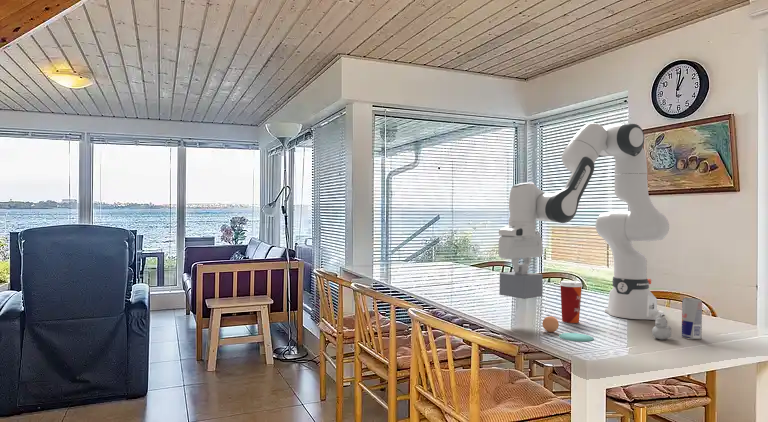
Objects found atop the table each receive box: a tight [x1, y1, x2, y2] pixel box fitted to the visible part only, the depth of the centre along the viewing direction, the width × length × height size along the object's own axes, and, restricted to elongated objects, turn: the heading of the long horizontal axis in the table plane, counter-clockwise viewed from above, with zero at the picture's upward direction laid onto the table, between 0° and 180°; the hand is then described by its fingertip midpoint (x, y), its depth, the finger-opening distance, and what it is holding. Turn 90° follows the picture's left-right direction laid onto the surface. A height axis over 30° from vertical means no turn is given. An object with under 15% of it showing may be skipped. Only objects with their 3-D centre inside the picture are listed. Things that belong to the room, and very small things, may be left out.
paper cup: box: [559, 280, 583, 324], centre depth 187 cm, size 8×8×14 cm
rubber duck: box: [651, 314, 672, 341], centre depth 163 cm, size 5×7×8 cm
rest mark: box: [558, 332, 595, 343], centre depth 163 cm, size 10×10×1 cm
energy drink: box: [681, 297, 703, 340], centre depth 165 cm, size 5×5×12 cm
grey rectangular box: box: [498, 263, 544, 300], centre depth 179 cm, size 10×10×10 cm
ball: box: [541, 315, 560, 333], centre depth 170 cm, size 5×5×5 cm
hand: (521, 271), depth 179 cm, fingers closed on grey rectangular box, 3 cm apart
